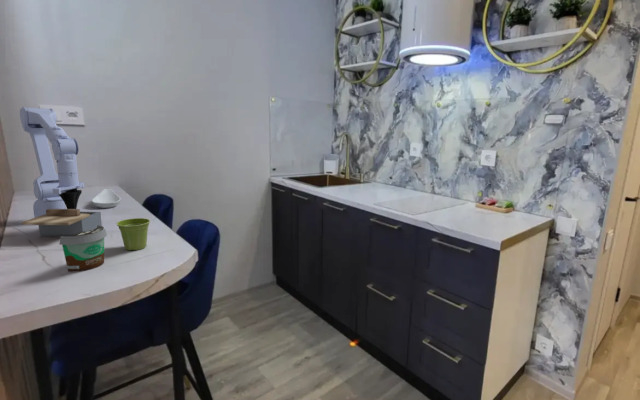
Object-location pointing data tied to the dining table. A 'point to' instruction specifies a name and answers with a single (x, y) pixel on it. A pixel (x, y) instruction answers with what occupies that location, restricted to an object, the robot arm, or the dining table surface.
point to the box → (72, 226)
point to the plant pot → (134, 233)
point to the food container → (84, 249)
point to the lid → (57, 217)
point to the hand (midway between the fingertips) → (72, 210)
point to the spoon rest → (106, 199)
